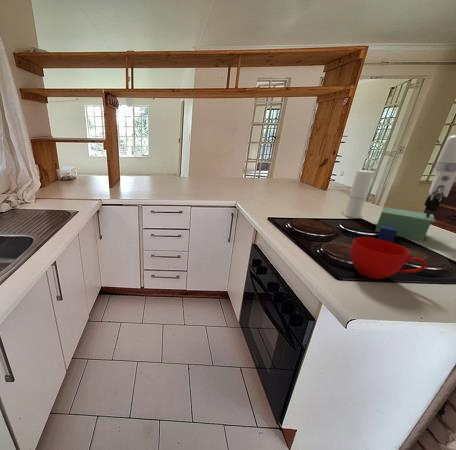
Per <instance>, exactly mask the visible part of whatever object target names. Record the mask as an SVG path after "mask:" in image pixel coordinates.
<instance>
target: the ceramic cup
mask: <svg viewBox="0 0 456 450" xmlns="http://www.w3.org/2000/svg"><path fill="white" fill-rule="evenodd" d="M410 255H411V251H410V250H409V249H408V248H406V247H405V246H402V245H400V244H398V243H394V242H391V241H387V240H383V239H378V238H375V237H368V236H367V237H366V236H365V237H364V236H361V237H355V238H354V239H353V241H352V244H351V249H350V259H351V262H352V265H353V267H354V269H355V270H356V272H357V273H359V274H360V275H362V276H364V277H366V278H370V279H374V280H383V279H385V278H388V277H391V276H393V275H395V274H396V273H403V274H404V273H406V274H407V273H408V274H409V273H411V274H412V273H413V274H414V273H418V272H421V271H423V270H425V269H426V268H427V261H426V260H425V259H423V258H421V257H416V256H411V257H410ZM411 261H418V262H421V263H422V265H421V266H420V267H418V268H413V269H403V266H404V265H406V264H407V263H408V262H411Z"/></svg>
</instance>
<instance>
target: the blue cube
mask: <svg viewBox="0 0 456 450" xmlns="http://www.w3.org/2000/svg"><path fill="white" fill-rule="evenodd" d="M397 231H398V228H394V227H389V226H384V225H382V228H381V230H380V232H378V236H377V239H381V240H385V241H389V242H392V243H394V241H395V238H396V237H397V236H396V233H397Z"/></svg>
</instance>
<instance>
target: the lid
mask: <svg viewBox="0 0 456 450" xmlns="http://www.w3.org/2000/svg"><path fill="white" fill-rule="evenodd" d="M432 212H433V211H430V210H427V211H426V213H425V212H419V211H414V210H406V209H401V208H393V207H387V206H383V208H382V211H381V214H387V215H393V216H398V217H404V218H410V219H416V220H422V221H428V222H431V223H435V222H436V219H435V216H434V214H433V213H432ZM381 214H380V215H381Z"/></svg>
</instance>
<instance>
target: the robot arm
mask: <svg viewBox="0 0 456 450" xmlns="http://www.w3.org/2000/svg"><path fill="white" fill-rule="evenodd" d="M433 171H435V175H434V178H433V179H432V182H431V185H430V188H429V191H428V196H427V198H426V200H425V202H424V206H425V208H424V210H425V211H428V210H430V211H432V212H437V210H438V208H439V207H440V205H441V201H442V199H443V197H444V198H447V197H448V196H449V194H450V192H451V189H452V187H453V185H454V182H455V180H456V134H453V135H450V136H448V138H447V139H446V140H445V143H444V145H443V147H442V149H441V151H440V154H439V156H438V158H437V161H436V163H435V165H434V167H433Z"/></svg>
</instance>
